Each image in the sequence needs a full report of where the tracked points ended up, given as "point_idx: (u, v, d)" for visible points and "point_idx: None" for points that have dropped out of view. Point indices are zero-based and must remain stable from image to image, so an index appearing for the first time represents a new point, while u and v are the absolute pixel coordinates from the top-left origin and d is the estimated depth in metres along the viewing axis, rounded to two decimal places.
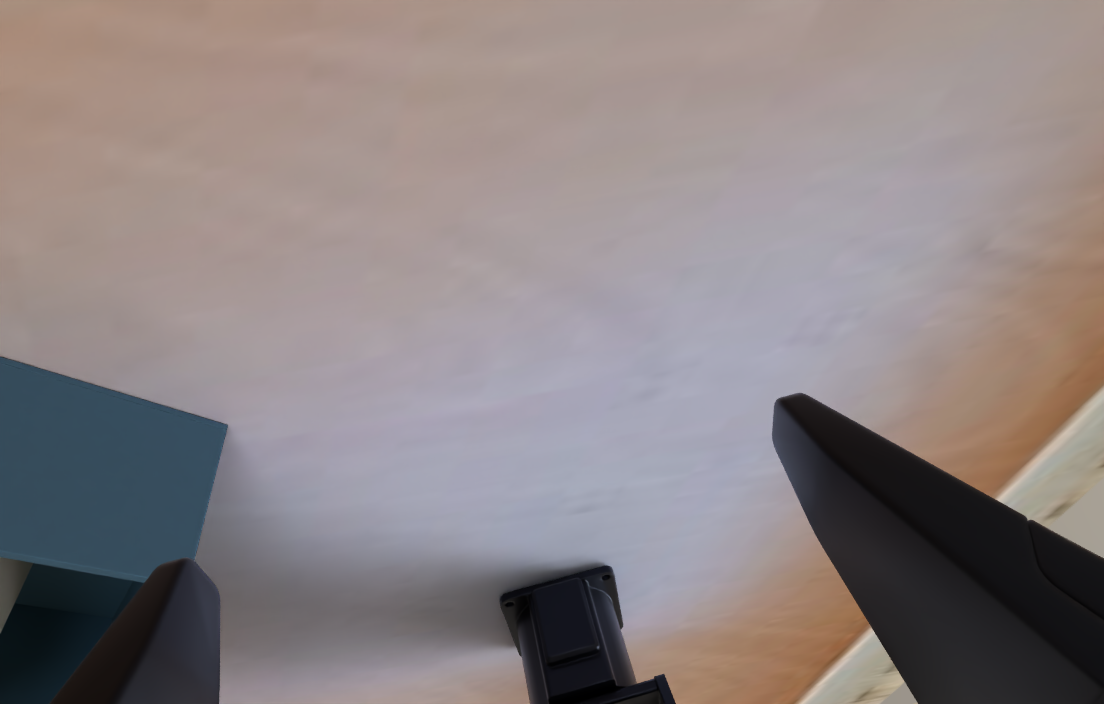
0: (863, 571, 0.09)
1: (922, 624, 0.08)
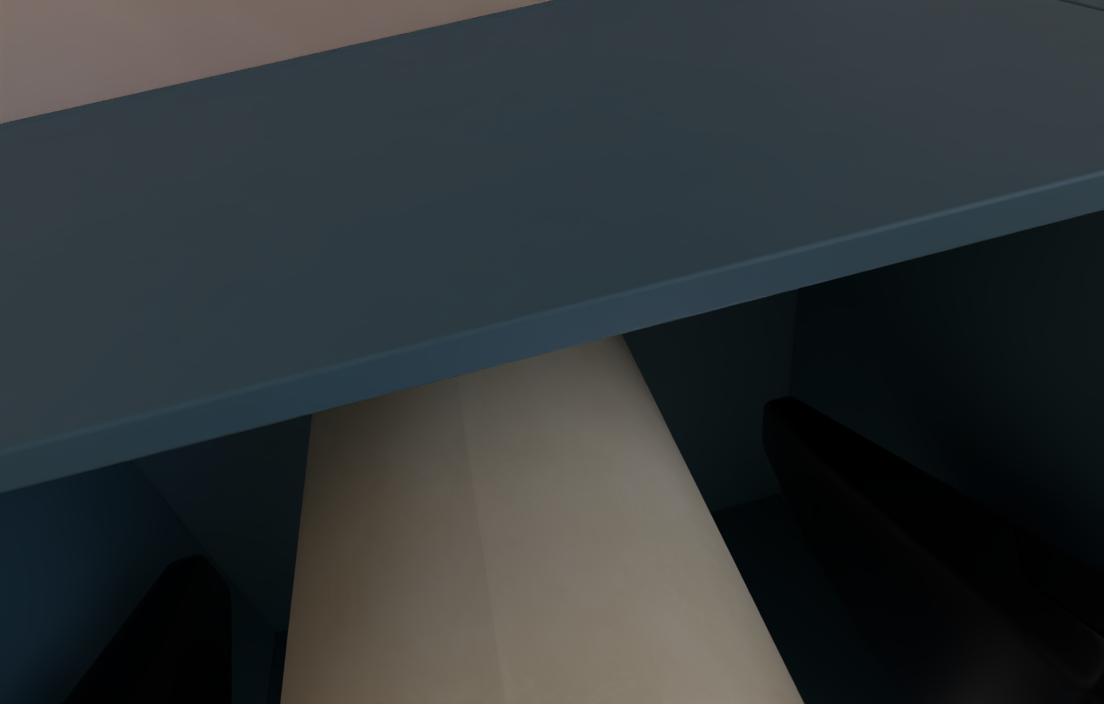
0: (851, 574, 0.09)
1: (908, 628, 0.08)
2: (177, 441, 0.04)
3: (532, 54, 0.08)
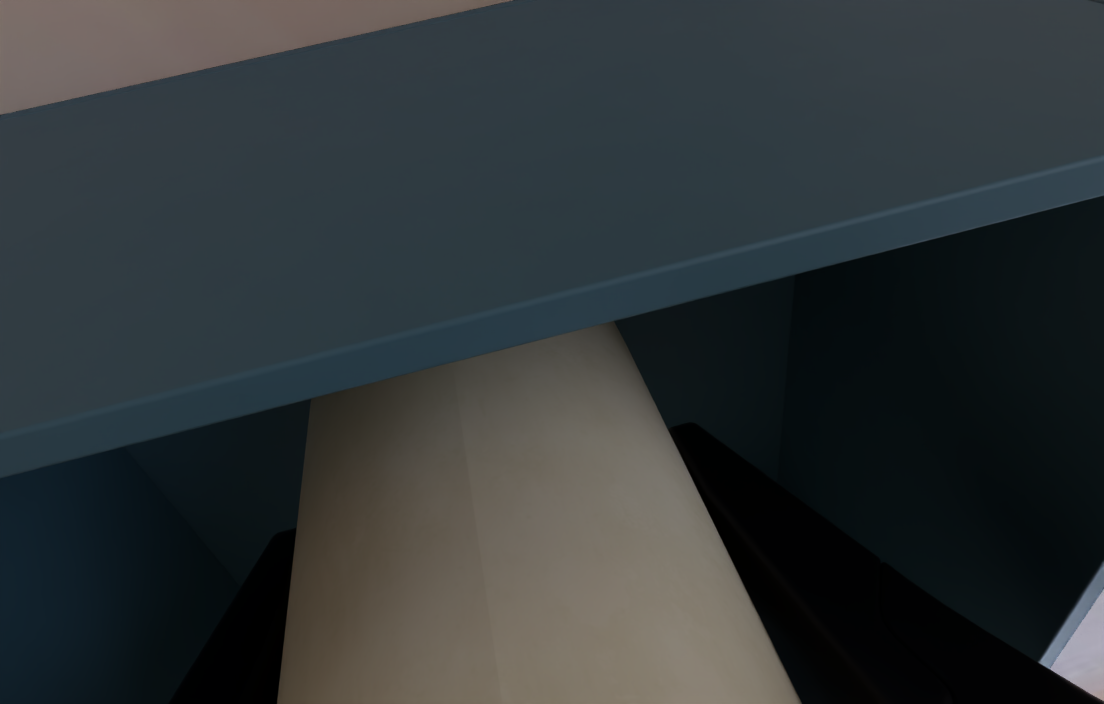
0: None
1: (787, 664, 0.08)
2: (176, 426, 0.04)
3: (528, 45, 0.08)
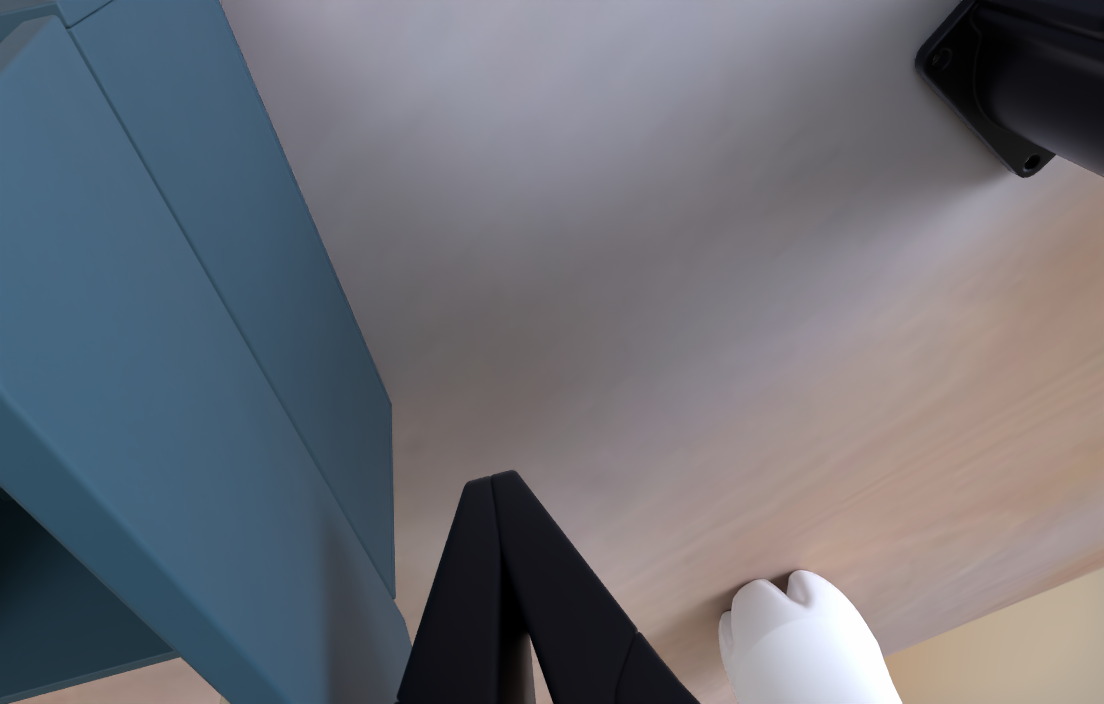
0: None
1: None
2: None
3: None
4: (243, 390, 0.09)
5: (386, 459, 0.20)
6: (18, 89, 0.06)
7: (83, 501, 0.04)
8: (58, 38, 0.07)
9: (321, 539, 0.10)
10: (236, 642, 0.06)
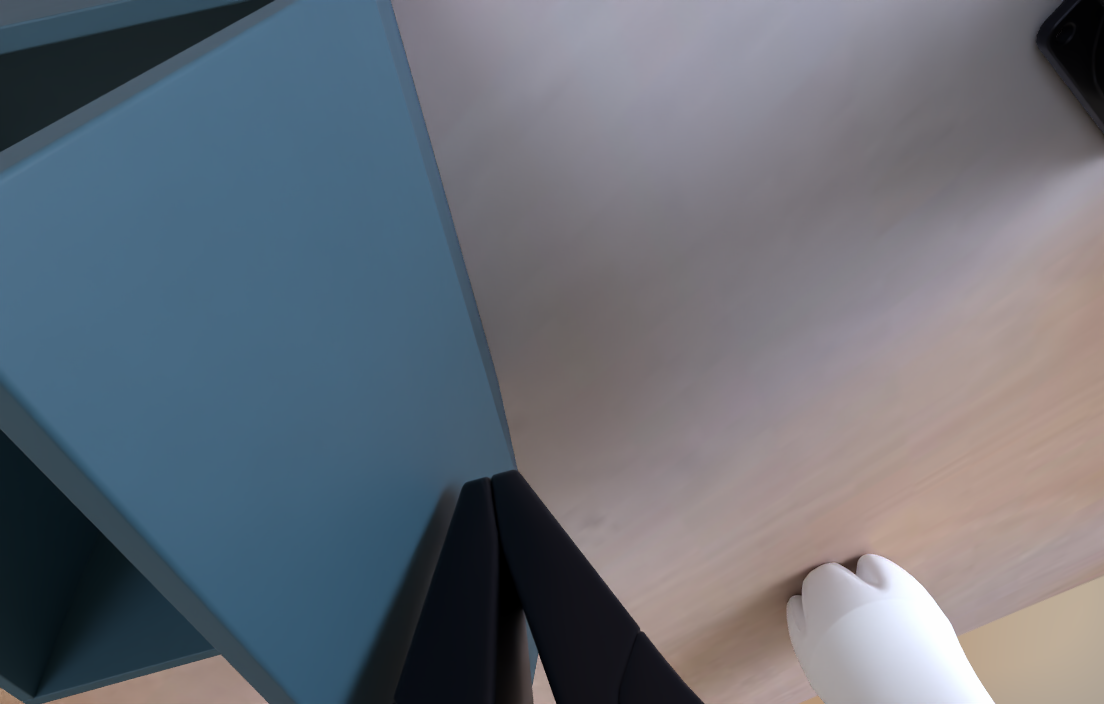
0: None
1: None
2: None
3: None
4: (427, 357, 0.09)
5: (508, 433, 0.20)
6: (247, 56, 0.06)
7: (97, 495, 0.04)
8: None
9: None
10: (244, 639, 0.06)
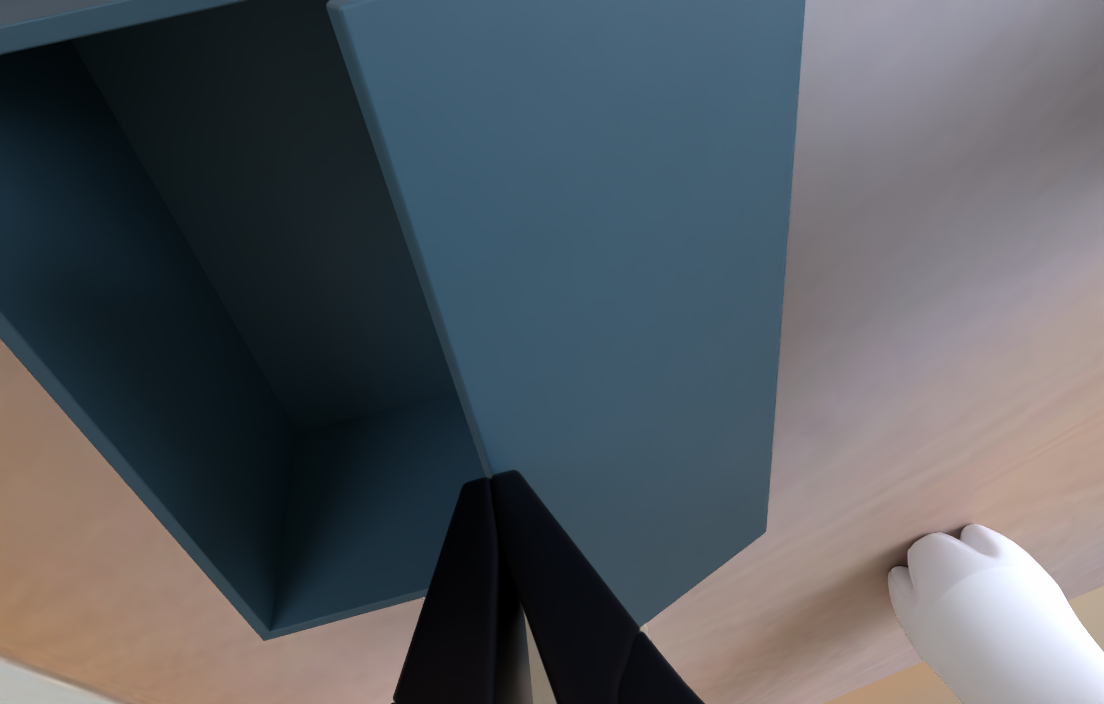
0: (542, 663, 0.09)
1: None
2: (156, 493, 0.13)
3: None
4: (711, 247, 0.10)
5: None
6: None
7: (398, 198, 0.07)
8: None
9: (685, 392, 0.12)
10: (451, 342, 0.08)
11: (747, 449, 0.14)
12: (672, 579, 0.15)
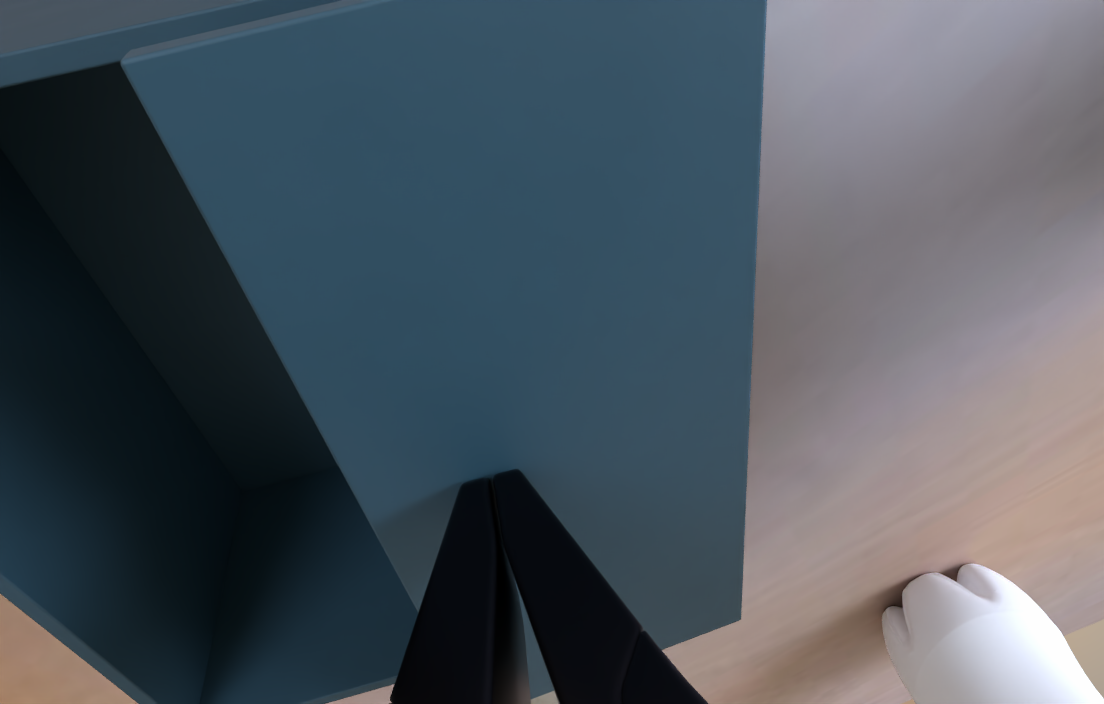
0: None
1: None
2: (42, 605, 0.11)
3: None
4: (639, 327, 0.09)
5: None
6: None
7: (223, 248, 0.07)
8: None
9: (613, 469, 0.11)
10: (300, 390, 0.08)
11: (707, 536, 0.13)
12: None
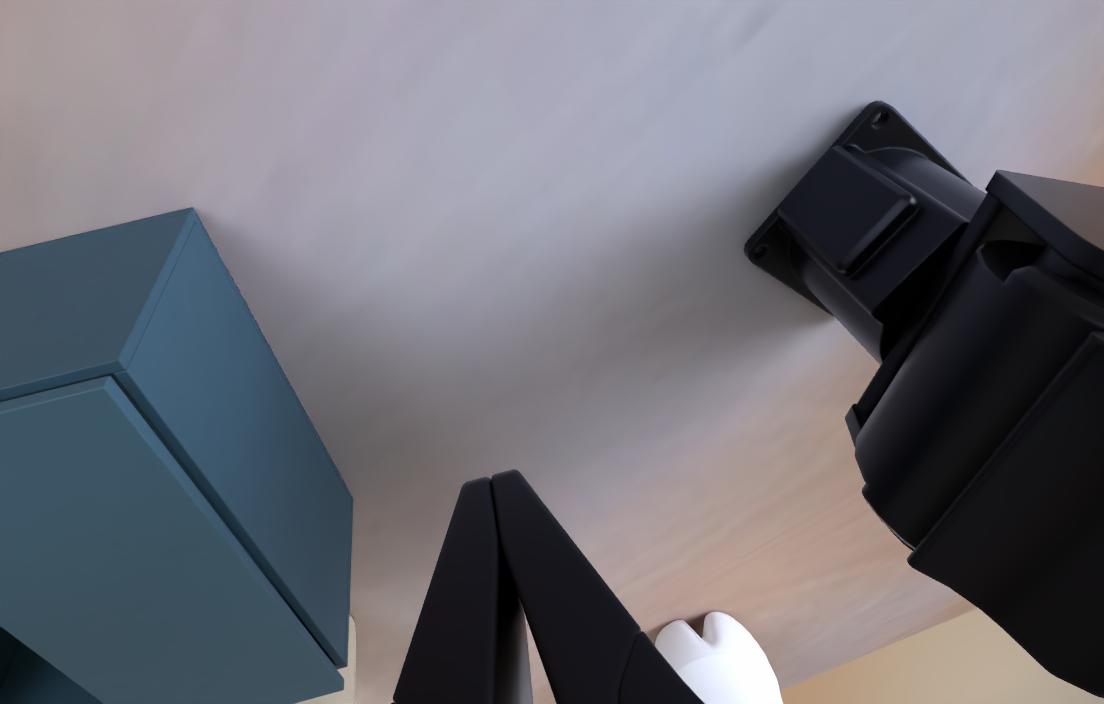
0: (542, 663, 0.09)
1: None
2: None
3: None
4: (139, 543, 0.16)
5: (345, 551, 0.25)
6: None
7: None
8: (78, 400, 0.13)
9: (170, 608, 0.18)
10: None
11: (273, 642, 0.19)
12: (239, 702, 0.21)
